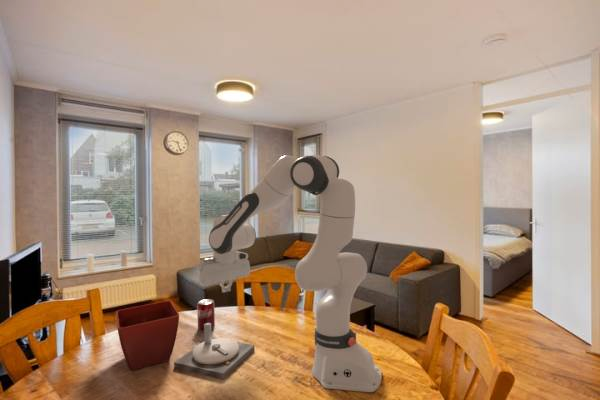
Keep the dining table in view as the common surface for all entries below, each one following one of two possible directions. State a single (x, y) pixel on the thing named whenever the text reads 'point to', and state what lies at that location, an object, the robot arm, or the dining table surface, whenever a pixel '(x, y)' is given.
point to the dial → (214, 349)
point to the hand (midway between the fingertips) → (226, 291)
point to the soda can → (205, 313)
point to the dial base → (214, 369)
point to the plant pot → (147, 333)
